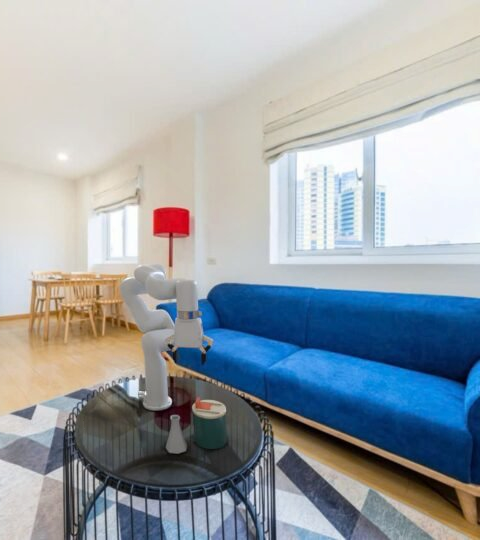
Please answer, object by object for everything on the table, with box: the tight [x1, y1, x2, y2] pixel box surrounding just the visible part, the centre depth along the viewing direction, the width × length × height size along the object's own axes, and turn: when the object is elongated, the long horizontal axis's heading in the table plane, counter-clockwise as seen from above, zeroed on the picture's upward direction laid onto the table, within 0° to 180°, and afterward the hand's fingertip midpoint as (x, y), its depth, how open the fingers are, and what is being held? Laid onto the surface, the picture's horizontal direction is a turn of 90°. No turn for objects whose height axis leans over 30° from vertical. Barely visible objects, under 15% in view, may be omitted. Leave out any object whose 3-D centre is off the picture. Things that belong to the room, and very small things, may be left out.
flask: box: [165, 414, 188, 455], centre depth 94 cm, size 7×7×10 cm
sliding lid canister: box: [191, 399, 228, 450], centre depth 98 cm, size 11×11×11 cm
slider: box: [194, 396, 212, 410], centre depth 98 cm, size 5×4×2 cm
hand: (189, 362), depth 102 cm, fingers open, 9 cm apart
